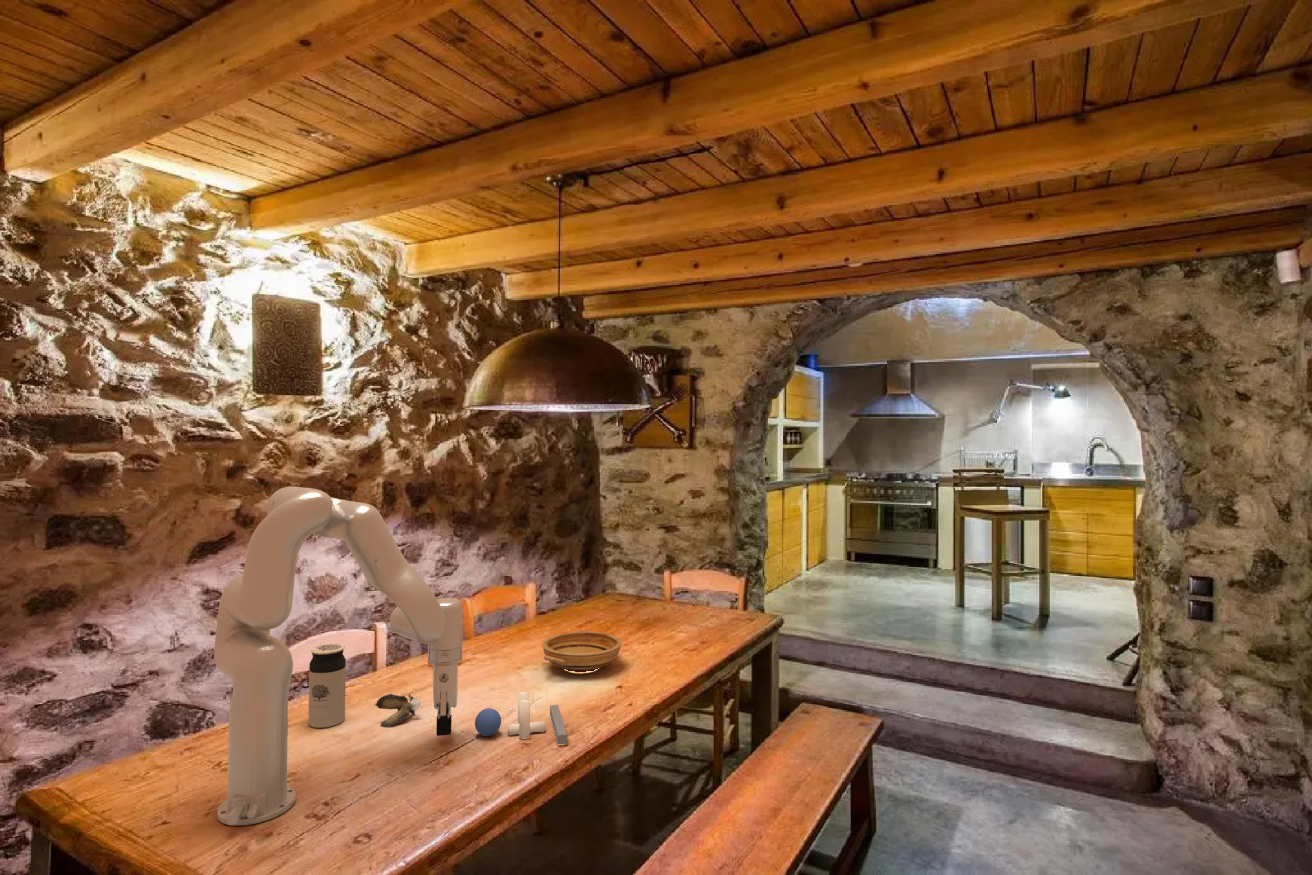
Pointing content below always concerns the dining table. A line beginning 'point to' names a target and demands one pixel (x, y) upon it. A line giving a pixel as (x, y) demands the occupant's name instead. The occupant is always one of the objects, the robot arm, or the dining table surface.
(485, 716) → the ball
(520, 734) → the pin
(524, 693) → the pin
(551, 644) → the ceramic bowl
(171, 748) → the dining table surface
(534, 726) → the front pin
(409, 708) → the eagle figurine
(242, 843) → the dining table surface
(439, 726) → the robot arm
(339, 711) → the travel mug
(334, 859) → the dining table surface
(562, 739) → the gray rectangular bar
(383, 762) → the dining table surface
